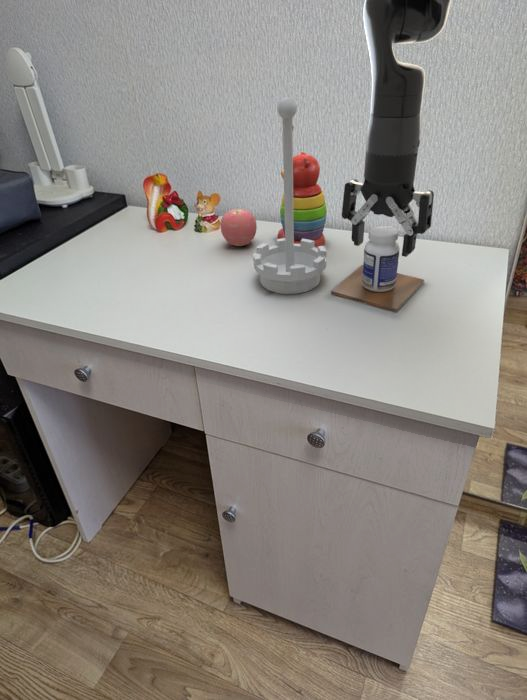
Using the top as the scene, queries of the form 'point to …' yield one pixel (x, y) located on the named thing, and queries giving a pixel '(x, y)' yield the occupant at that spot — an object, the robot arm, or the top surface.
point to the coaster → (384, 300)
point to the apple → (238, 227)
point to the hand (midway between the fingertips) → (381, 249)
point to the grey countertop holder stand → (289, 233)
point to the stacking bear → (306, 202)
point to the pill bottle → (381, 259)
